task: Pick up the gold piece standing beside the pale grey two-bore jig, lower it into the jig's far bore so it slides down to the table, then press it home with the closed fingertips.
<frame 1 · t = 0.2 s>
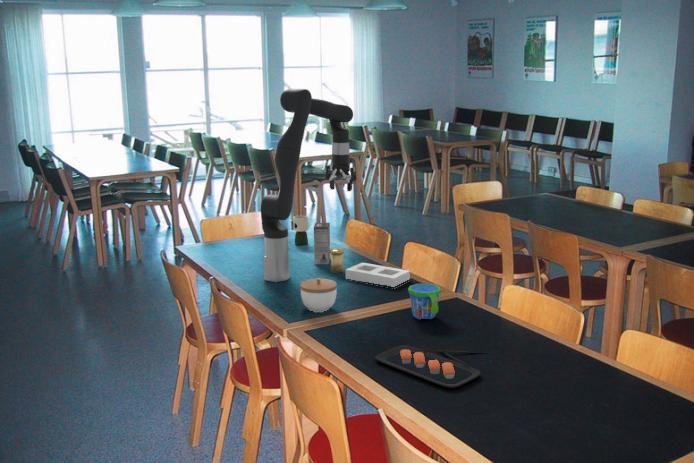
hand: (340, 190, 315), 29 cm above the table, tool pointing down, fingers open, 8 cm apart
lidded bowl: (318, 309, 251), on the table
sushi plate: (443, 363, 207), on the table
character mug: (301, 244, 340), on the table
coffee box: (322, 261, 310), on the table
jig: (377, 279, 283), on the table
gold piece: (337, 271, 295), on the table
snack cup: (424, 317, 242), on the table
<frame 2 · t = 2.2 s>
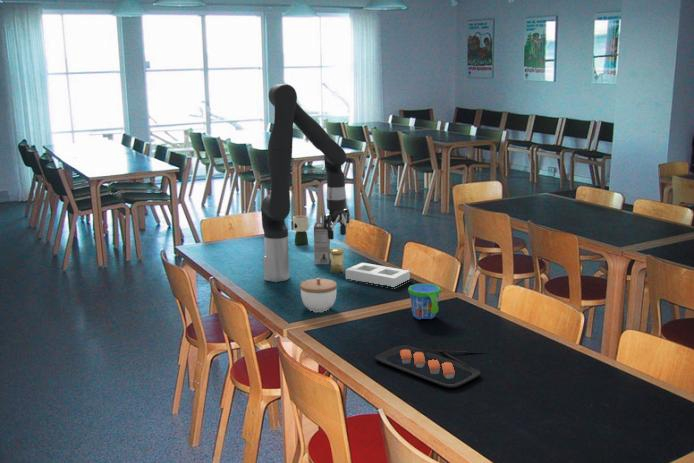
hand: (337, 237, 292), 14 cm above the table, tool pointing down, fingers open, 8 cm apart
nothing on the table moved.
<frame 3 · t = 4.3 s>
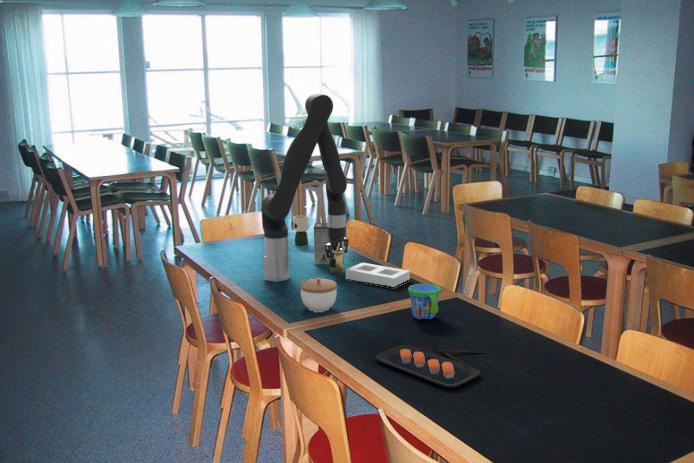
hand: (337, 265, 295), 2 cm above the table, tool pointing down, fingers closed on gold piece, 5 cm apart
gold piece: (337, 271, 295), on the table, touching gripper
everything else where it was.
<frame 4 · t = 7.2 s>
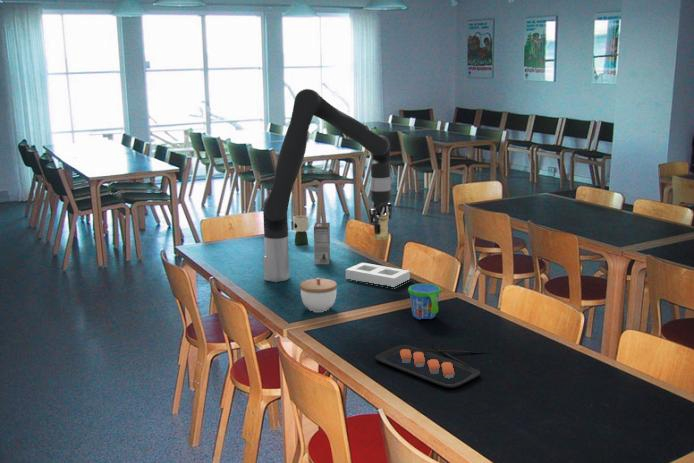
hand: (381, 232, 279), 19 cm above the table, tool pointing down, fingers closed on gold piece, 5 cm apart
gold piece: (381, 238, 280), point 17 cm above the table, touching gripper
everything else where it was.
when the fingers open (5 cm above the table, at t = 10.5 s): gold piece drops 3 cm, on the table.
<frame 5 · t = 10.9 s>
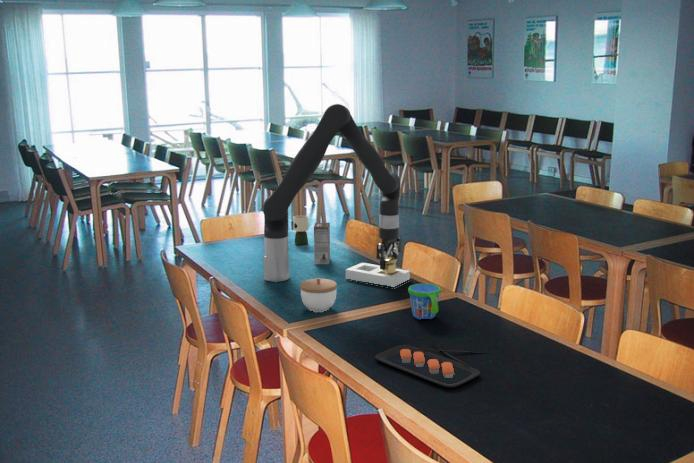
hand: (388, 266, 279), 6 cm above the table, tool pointing down, fingers open, 8 cm apart
gold piece: (389, 281, 281), on the table
everything else where it was.
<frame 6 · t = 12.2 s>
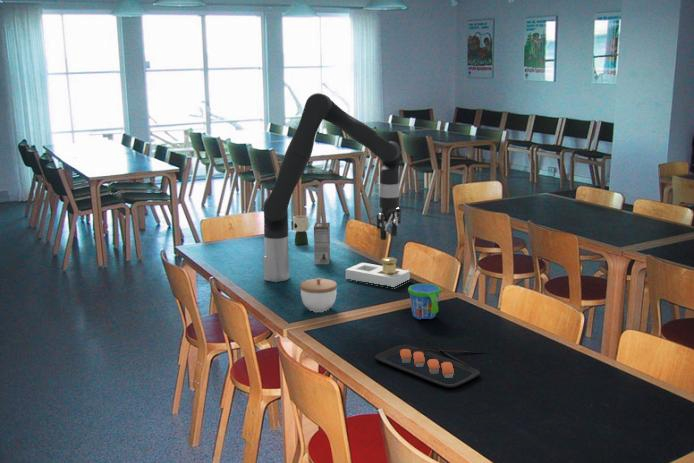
hand: (388, 237, 276), 18 cm above the table, tool pointing down, fingers open, 7 cm apart
nothing on the table moved.
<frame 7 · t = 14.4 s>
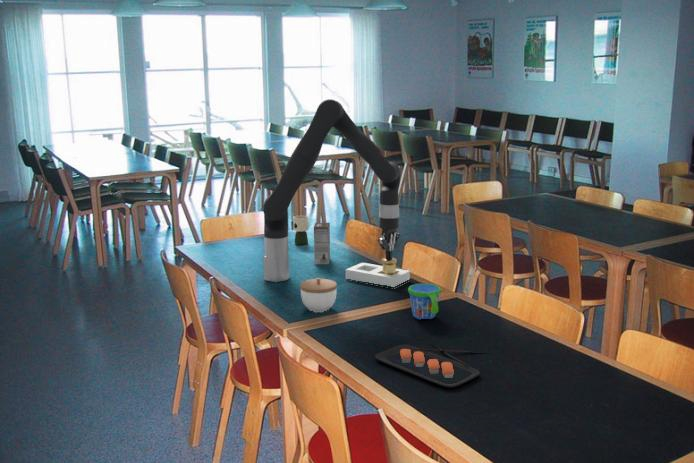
hand: (388, 259, 279), 9 cm above the table, tool pointing down, fingers closed
gold piece: (389, 281, 281), on the table, touching gripper
everything else where it was.
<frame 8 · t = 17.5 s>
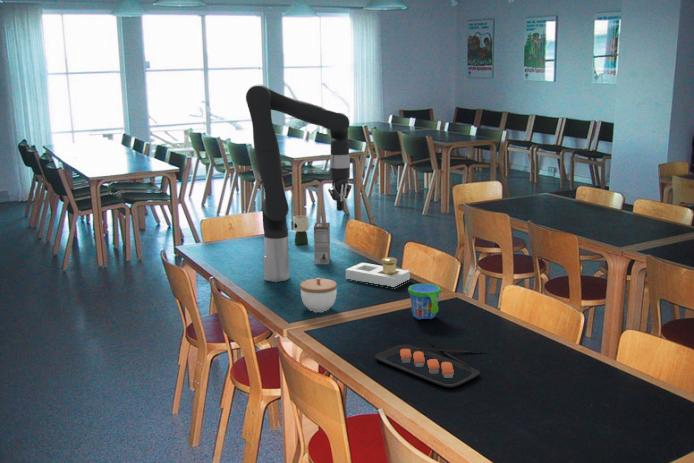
hand: (340, 210, 281), 27 cm above the table, tool pointing down, fingers closed
gold piece: (389, 281, 281), on the table
everything else where it was.
at the end: gold piece 0.5 cm from the target spot on the jig, point 0.0 cm above the jig's base; gold piece tilted 1°; the gripper is holding nothing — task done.
